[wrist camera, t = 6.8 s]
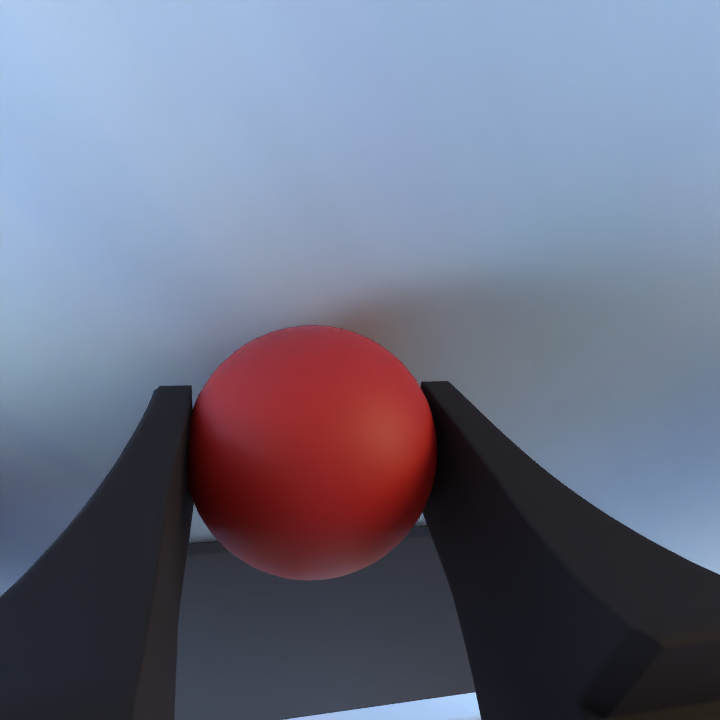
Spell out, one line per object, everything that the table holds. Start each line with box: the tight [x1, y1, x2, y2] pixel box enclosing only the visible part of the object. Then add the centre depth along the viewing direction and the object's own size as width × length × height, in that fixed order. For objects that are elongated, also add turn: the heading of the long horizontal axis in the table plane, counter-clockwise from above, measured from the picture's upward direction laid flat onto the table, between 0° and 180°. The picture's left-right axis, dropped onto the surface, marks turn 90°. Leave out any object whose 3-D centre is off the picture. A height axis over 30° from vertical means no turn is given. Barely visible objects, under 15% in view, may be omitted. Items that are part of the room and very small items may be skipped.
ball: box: [188, 325, 437, 580], centre depth 12 cm, size 5×5×5 cm
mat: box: [174, 526, 476, 720], centre depth 21 cm, size 16×11×1 cm
